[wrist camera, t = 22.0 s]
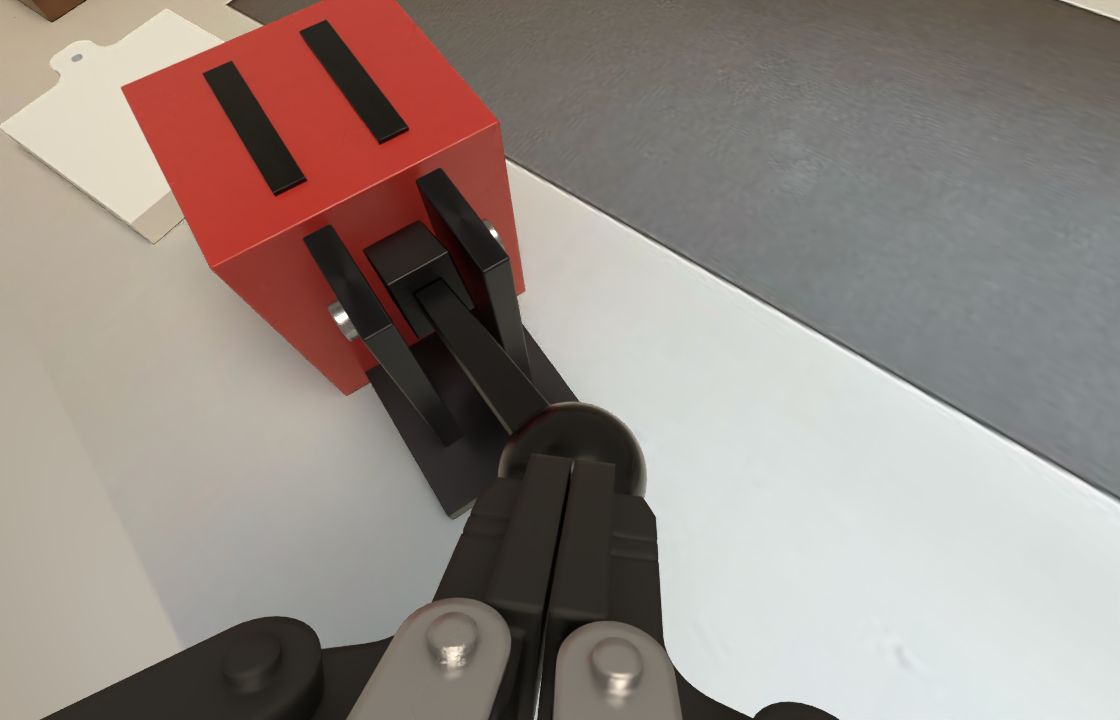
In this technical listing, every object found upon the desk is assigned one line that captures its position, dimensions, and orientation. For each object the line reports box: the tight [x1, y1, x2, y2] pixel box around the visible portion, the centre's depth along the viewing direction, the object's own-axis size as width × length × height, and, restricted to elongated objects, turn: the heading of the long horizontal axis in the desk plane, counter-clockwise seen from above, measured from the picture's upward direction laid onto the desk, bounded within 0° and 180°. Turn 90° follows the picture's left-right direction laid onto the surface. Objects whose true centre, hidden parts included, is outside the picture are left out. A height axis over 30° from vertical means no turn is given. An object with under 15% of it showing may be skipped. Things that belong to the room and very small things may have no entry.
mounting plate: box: [0, 9, 225, 244], centre depth 36 cm, size 18×13×2 cm
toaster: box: [121, 0, 525, 396], centre depth 27 cm, size 10×11×12 cm
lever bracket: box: [303, 168, 579, 519], centre depth 23 cm, size 10×8×13 cm
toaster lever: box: [363, 220, 647, 498], centre depth 16 cm, size 13×3×3 cm, turn 35°
